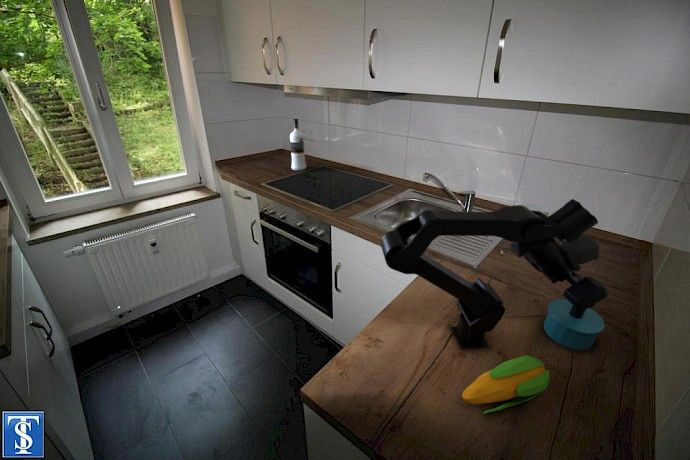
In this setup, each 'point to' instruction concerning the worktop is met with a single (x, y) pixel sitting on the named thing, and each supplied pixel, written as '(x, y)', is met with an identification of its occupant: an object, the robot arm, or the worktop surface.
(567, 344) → the pot
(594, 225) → the robot arm
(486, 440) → the worktop surface
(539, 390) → the corn
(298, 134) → the vodka
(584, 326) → the lid
